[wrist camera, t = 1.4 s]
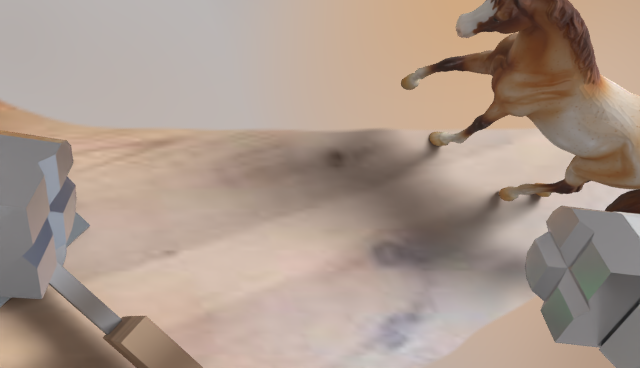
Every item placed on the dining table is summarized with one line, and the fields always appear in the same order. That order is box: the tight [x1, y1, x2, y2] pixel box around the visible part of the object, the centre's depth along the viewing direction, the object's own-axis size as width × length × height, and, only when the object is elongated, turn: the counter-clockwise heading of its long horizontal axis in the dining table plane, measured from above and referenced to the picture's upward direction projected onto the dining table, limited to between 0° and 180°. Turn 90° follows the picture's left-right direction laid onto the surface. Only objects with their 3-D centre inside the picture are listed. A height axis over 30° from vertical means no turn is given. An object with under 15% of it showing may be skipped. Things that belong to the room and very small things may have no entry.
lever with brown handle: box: [49, 262, 203, 368], centre depth 32 cm, size 22×3×10 cm, turn 50°
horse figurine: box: [401, 0, 640, 214], centre depth 49 cm, size 31×8×21 cm, turn 60°
